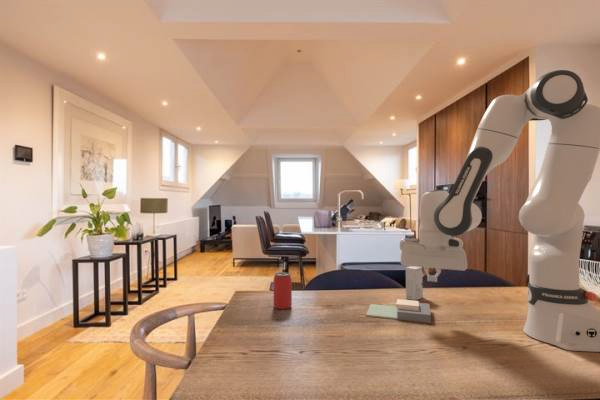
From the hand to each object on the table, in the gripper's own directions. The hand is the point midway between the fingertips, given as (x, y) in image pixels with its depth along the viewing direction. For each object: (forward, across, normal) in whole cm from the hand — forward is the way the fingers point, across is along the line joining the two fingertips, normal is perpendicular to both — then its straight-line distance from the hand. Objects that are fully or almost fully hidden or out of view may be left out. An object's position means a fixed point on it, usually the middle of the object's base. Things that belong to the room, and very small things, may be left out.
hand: (432, 281), depth 107 cm
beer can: (+13, -50, -6) cm, 53 cm away
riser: (+12, -6, 0) cm, 13 cm away
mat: (+12, -16, 0) cm, 20 cm away
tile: (+9, -8, 0) cm, 12 cm away
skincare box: (+12, -5, +21) cm, 25 cm away
